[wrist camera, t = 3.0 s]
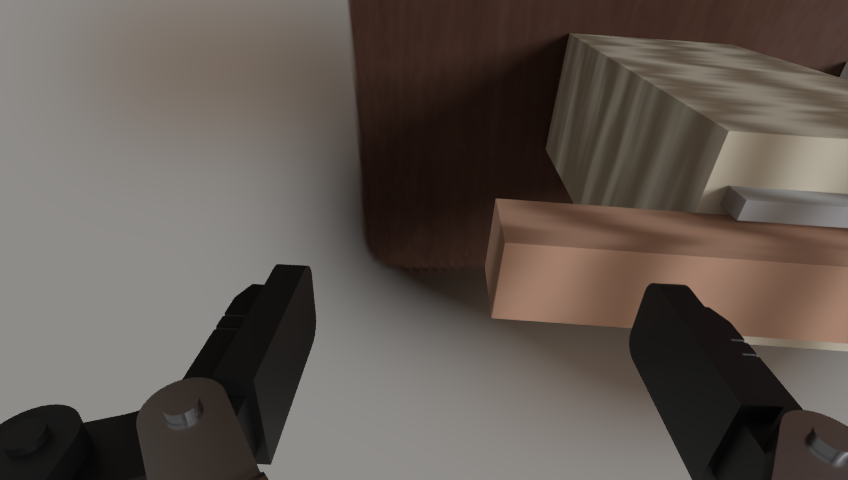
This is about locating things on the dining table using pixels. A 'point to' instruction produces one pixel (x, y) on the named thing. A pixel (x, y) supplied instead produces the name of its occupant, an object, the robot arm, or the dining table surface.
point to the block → (666, 267)
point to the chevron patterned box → (702, 134)
